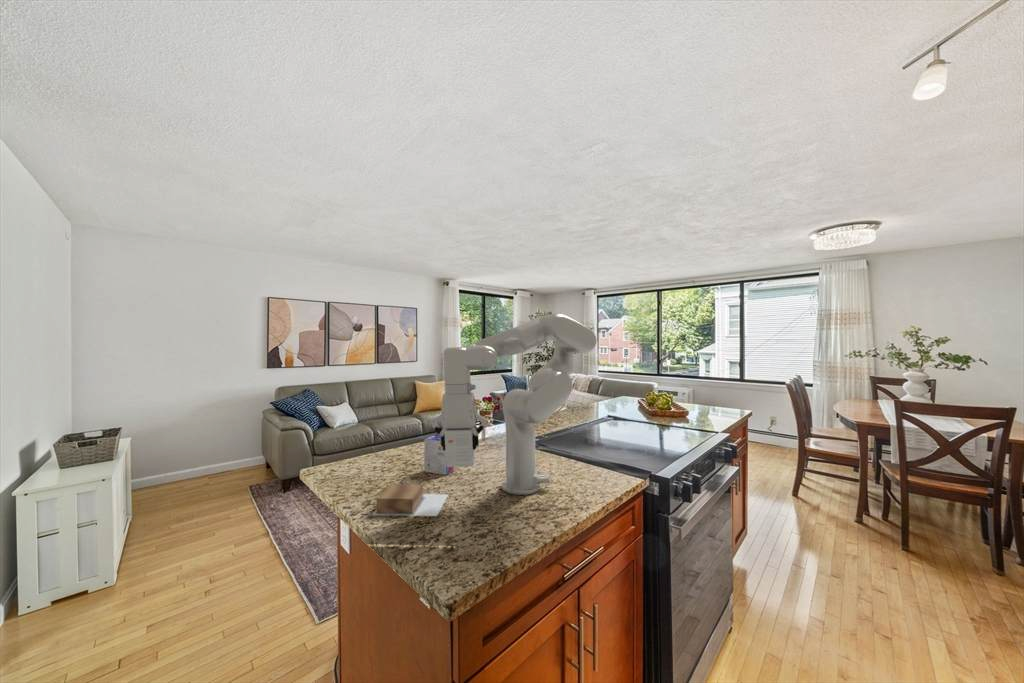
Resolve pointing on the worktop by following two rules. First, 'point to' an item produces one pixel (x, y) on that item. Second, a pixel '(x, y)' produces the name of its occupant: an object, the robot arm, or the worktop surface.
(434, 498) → the white rectangular board
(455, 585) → the worktop surface
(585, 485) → the worktop surface
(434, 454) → the ink cartridge box
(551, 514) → the worktop surface
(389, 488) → the base slab
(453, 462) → the small box
